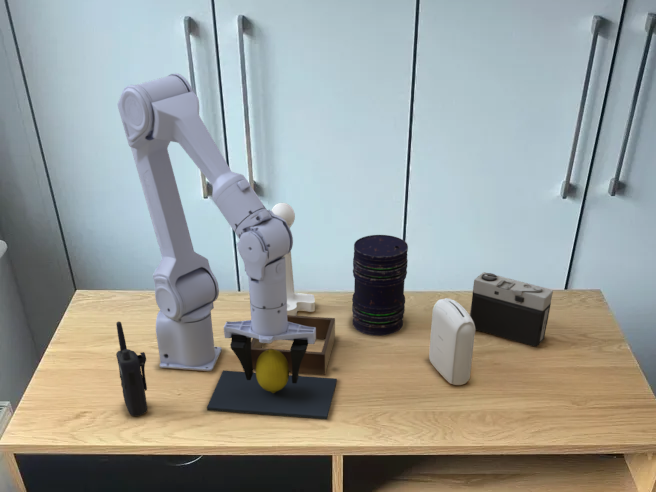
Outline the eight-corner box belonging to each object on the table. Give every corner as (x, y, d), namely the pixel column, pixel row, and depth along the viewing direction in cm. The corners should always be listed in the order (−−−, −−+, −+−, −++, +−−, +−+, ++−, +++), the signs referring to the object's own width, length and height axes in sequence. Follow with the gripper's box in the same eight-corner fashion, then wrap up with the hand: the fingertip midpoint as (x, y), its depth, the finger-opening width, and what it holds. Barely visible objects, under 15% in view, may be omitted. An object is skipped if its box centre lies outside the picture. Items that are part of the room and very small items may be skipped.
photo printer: (425, 359, 154) (430, 293, 145) (446, 355, 155) (453, 289, 146) (449, 388, 147) (457, 320, 138) (472, 383, 148) (481, 316, 139)
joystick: (314, 303, 169) (312, 198, 155) (315, 321, 164) (314, 214, 150) (257, 304, 169) (251, 199, 155) (257, 322, 163) (250, 215, 149)
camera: (553, 330, 162) (563, 279, 155) (536, 348, 157) (545, 296, 150) (485, 312, 167) (492, 261, 160) (467, 328, 162) (473, 277, 155)
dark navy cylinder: (346, 332, 161) (347, 253, 150) (357, 309, 167) (359, 232, 157) (399, 338, 159) (403, 259, 149) (407, 314, 166) (412, 237, 156)
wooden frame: (249, 369, 151) (248, 349, 148) (264, 333, 160) (262, 313, 157) (325, 375, 149) (324, 354, 147) (335, 338, 159) (335, 318, 156)
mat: (207, 410, 141) (206, 407, 141) (223, 373, 150) (222, 370, 149) (327, 419, 139) (327, 416, 139) (336, 381, 148) (336, 378, 148)
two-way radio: (123, 402, 143) (107, 318, 132) (150, 397, 144) (136, 313, 133) (130, 420, 139) (114, 334, 129) (157, 414, 140) (143, 329, 130)
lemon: (277, 404, 141) (275, 361, 136) (250, 395, 143) (247, 351, 138) (296, 389, 145) (295, 346, 139) (269, 380, 147) (267, 337, 141)
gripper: (216, 309, 131) (224, 388, 140) (310, 315, 129) (312, 394, 139) (226, 289, 136) (233, 366, 145) (317, 295, 134) (318, 372, 144)
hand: (272, 378), depth 142 cm, fingers open, 7 cm apart
